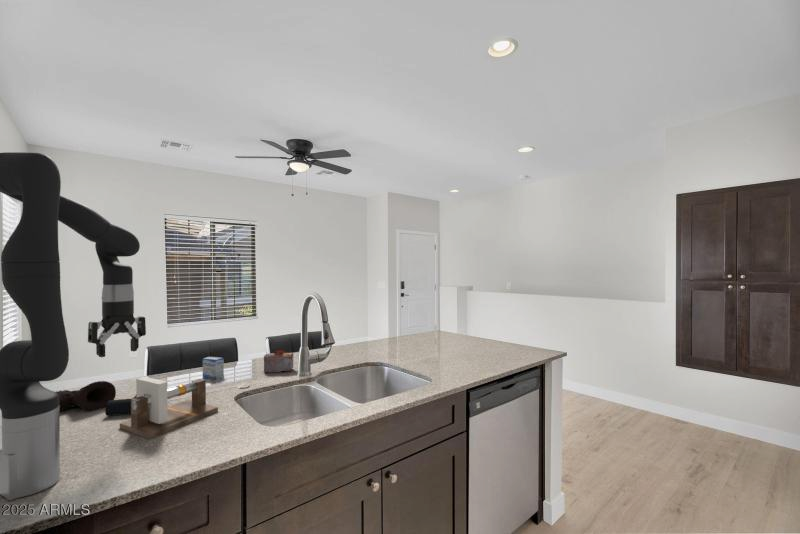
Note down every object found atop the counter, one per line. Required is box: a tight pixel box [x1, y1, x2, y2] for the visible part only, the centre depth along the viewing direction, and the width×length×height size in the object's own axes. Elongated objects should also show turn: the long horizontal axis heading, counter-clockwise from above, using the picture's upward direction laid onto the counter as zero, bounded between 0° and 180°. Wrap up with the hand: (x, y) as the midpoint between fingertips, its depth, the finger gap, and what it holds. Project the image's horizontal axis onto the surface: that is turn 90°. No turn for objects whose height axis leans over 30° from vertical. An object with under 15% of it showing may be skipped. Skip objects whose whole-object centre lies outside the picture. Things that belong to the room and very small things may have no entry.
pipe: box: [55, 380, 117, 412], centre depth 128 cm, size 10×15×15 cm
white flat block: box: [135, 376, 168, 424], centre depth 112 cm, size 2×12×12 cm, turn 63°
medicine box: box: [202, 356, 225, 379], centre depth 163 cm, size 8×4×9 cm, turn 73°
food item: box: [263, 349, 294, 373], centre depth 172 cm, size 14×8×10 cm, turn 101°
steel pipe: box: [131, 381, 197, 410], centre depth 118 cm, size 22×3×3 cm, turn 153°
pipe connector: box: [104, 395, 136, 417], centre depth 127 cm, size 12×5×15 cm
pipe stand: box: [119, 378, 219, 440], centre depth 118 cm, size 22×16×10 cm
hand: (118, 353), depth 108 cm, fingers open, 8 cm apart
